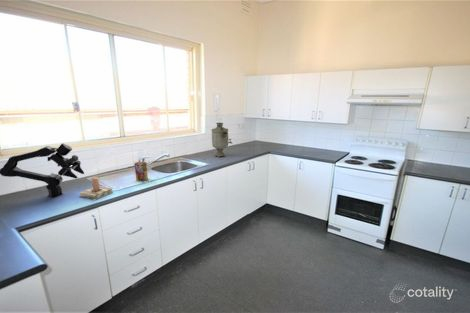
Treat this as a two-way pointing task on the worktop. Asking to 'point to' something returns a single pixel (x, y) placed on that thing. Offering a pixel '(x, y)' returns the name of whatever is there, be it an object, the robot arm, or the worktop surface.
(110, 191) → the pocket block
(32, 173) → the robot arm
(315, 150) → the worktop surface
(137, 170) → the candy box
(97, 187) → the terracotta peg
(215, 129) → the samovar
